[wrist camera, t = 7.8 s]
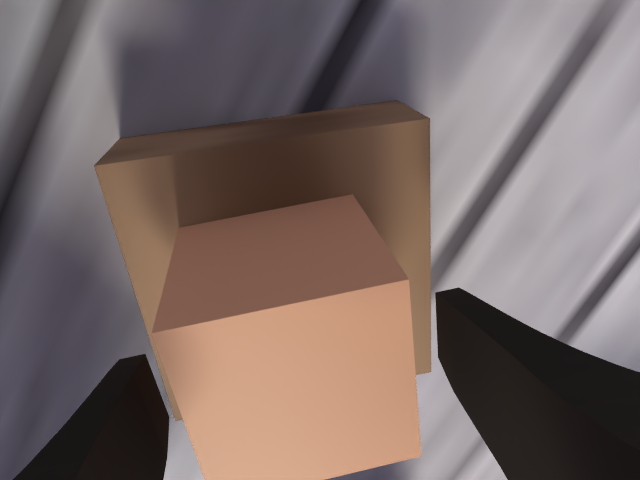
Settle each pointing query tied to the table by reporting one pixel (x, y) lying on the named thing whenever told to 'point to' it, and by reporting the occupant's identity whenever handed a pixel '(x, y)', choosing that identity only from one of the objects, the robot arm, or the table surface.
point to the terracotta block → (290, 344)
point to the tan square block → (274, 190)
